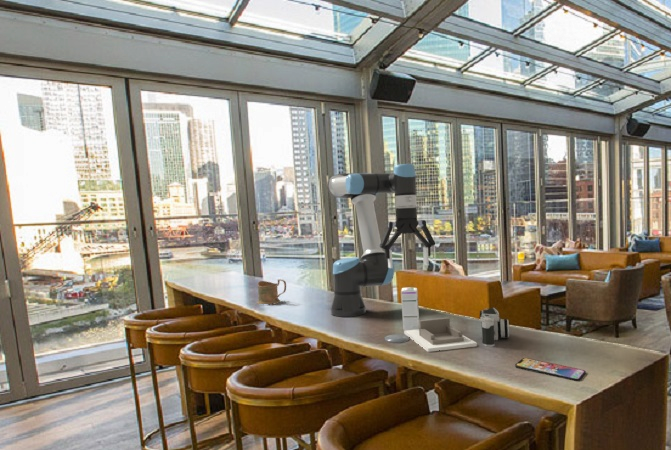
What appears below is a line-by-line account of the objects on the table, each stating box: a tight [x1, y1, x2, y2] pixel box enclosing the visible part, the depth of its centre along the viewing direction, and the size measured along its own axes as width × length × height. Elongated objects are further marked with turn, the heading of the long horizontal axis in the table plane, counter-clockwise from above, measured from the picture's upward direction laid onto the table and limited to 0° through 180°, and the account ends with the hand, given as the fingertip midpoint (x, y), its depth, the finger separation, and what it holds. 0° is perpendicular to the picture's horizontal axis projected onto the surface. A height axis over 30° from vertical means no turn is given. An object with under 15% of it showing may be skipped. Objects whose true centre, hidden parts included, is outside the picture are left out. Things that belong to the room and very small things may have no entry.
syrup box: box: [400, 286, 420, 331], centre depth 146 cm, size 6×6×14 cm
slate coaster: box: [384, 333, 410, 344], centre depth 135 cm, size 8×8×1 cm
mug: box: [256, 279, 287, 305], centre depth 203 cm, size 12×18×12 cm, turn 57°
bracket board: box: [403, 317, 478, 353], centre depth 132 cm, size 20×16×6 cm
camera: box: [479, 307, 510, 348], centre depth 130 cm, size 16×9×10 cm, turn 159°
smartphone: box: [514, 357, 586, 382], centre depth 103 cm, size 7×1×15 cm
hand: (408, 266), depth 146 cm, fingers open, 13 cm apart
